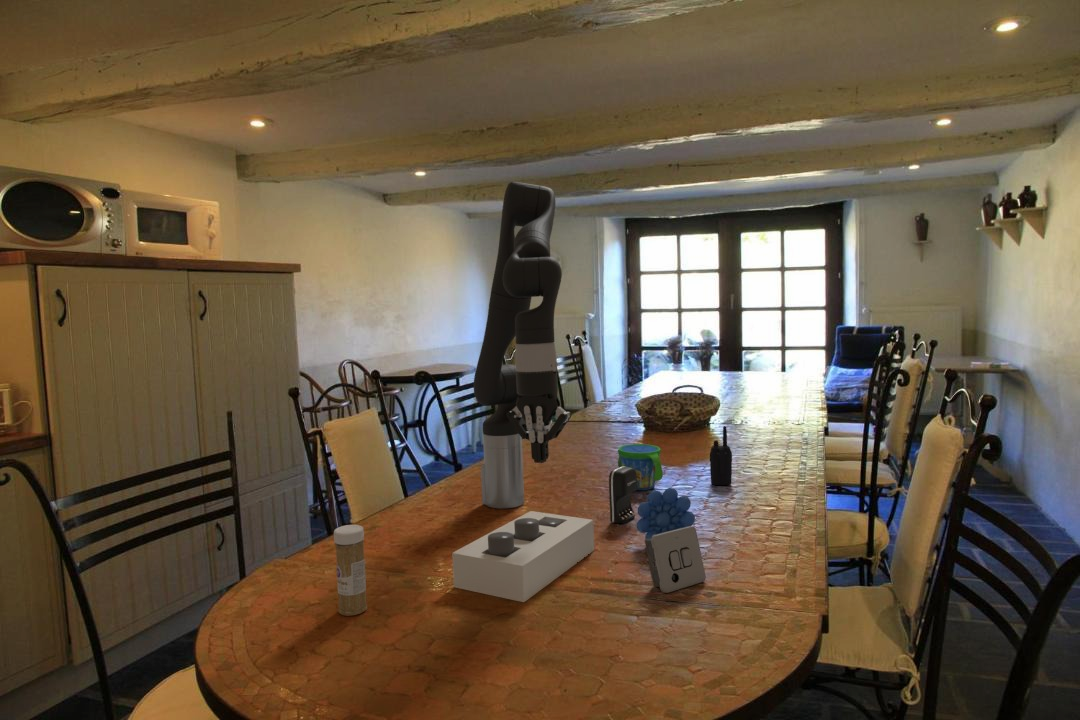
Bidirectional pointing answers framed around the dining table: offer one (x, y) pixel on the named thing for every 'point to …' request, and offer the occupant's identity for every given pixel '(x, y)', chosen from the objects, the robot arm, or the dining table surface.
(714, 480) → the two-way radio
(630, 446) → the snack cup
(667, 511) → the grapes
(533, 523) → the knob
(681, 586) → the electrical switch
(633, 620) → the dining table surface
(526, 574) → the knob panel
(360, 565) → the sprinkles bottle
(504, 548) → the knob
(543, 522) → the knob
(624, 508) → the battery charger
